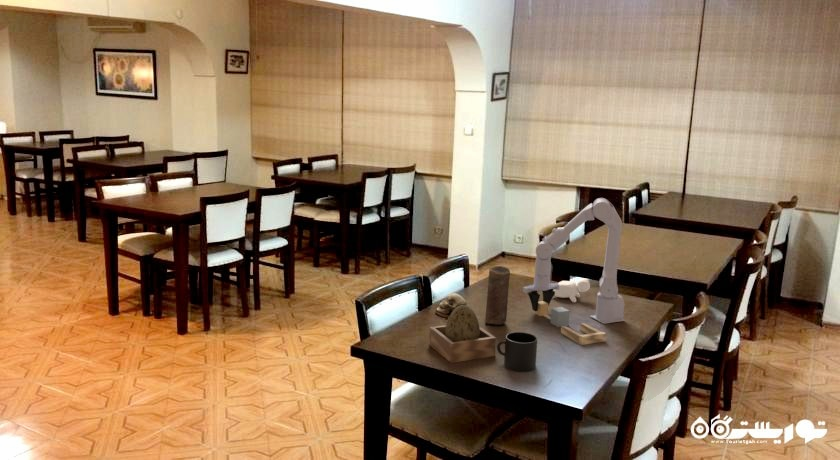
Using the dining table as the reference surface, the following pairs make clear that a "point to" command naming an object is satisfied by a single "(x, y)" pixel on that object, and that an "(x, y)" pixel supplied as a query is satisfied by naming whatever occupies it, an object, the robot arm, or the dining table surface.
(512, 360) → the mug
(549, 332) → the dining table surface
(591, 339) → the lane
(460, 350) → the square wooden tray
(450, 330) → the decorative egg
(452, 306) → the skull
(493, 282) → the candle
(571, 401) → the dining table surface
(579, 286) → the white animal figurine
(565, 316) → the tethered block
